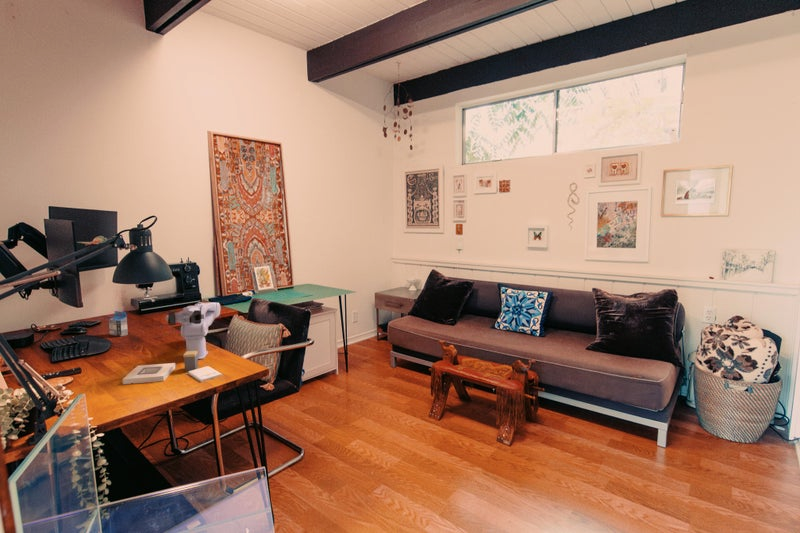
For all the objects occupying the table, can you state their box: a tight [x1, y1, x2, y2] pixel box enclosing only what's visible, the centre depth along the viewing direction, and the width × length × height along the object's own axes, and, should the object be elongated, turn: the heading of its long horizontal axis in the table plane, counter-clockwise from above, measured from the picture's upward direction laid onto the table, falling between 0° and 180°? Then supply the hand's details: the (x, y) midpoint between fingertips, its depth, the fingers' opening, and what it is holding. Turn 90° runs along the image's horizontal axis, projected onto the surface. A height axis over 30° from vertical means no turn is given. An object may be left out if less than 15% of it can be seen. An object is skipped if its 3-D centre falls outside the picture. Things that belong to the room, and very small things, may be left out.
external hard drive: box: [187, 365, 223, 383], centre depth 161 cm, size 2×8×12 cm
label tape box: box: [108, 310, 129, 337], centre depth 214 cm, size 9×4×12 cm, turn 71°
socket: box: [122, 362, 177, 385], centre depth 160 cm, size 14×14×2 cm
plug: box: [183, 350, 199, 372], centre depth 167 cm, size 4×4×7 cm
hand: (179, 320), depth 160 cm, fingers open, 7 cm apart
